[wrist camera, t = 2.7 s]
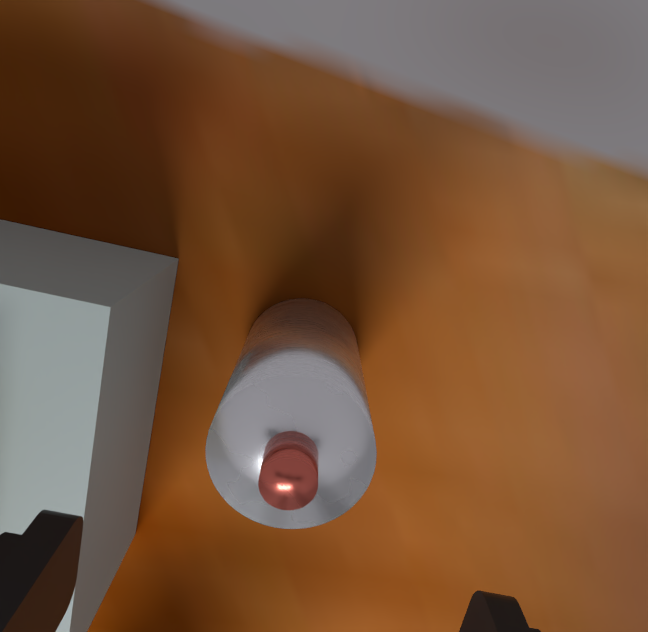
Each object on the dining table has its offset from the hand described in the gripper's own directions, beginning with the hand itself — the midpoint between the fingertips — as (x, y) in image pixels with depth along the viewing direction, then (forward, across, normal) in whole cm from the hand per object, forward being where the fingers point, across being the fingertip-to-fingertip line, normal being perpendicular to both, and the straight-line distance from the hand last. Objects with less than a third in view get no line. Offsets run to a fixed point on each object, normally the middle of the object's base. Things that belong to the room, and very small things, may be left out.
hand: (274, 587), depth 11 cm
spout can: (+14, 0, 0) cm, 14 cm away
